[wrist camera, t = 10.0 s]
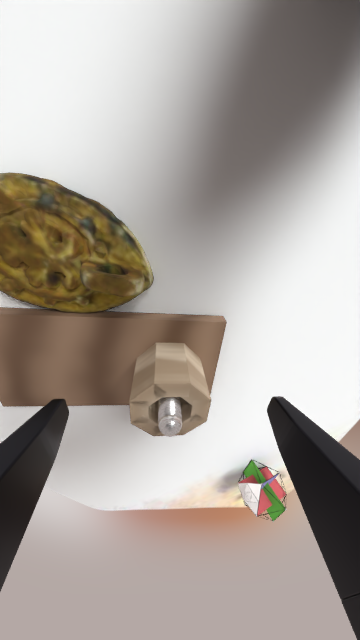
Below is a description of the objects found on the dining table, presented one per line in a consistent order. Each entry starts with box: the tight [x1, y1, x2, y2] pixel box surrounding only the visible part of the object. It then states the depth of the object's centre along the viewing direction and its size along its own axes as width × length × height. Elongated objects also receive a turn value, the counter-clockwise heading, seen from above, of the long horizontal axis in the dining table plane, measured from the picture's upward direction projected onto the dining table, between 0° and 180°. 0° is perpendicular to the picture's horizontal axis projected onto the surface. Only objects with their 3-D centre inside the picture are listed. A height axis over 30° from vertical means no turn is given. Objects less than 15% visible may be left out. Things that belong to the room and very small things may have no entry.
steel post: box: [158, 397, 182, 437], centre depth 17 cm, size 2×2×7 cm
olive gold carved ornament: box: [0, 173, 154, 313], centre depth 14 cm, size 9×5×15 cm
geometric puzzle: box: [237, 459, 287, 522], centre depth 31 cm, size 7×7×8 cm
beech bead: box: [129, 343, 211, 436], centre depth 18 cm, size 6×6×5 cm
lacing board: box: [0, 307, 226, 406], centre depth 20 cm, size 22×11×1 cm, turn 85°
